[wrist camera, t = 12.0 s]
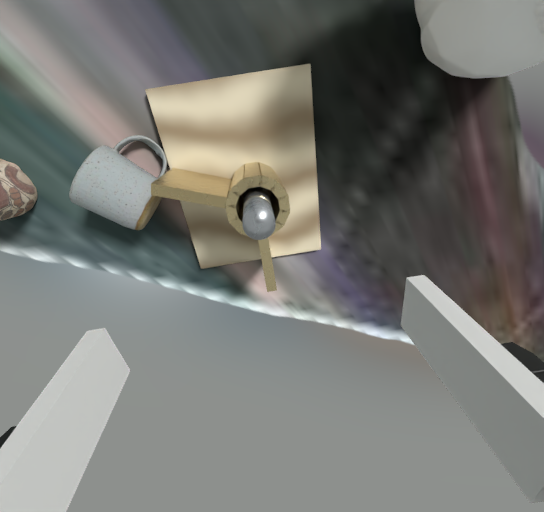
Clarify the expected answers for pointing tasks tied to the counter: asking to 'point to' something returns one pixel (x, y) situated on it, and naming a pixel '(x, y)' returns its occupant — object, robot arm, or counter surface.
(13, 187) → the figurine
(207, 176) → the brass hinge
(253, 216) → the hinge pin
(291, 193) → the birch board
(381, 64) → the counter surface
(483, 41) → the decorative rooster
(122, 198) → the ceramic mug
